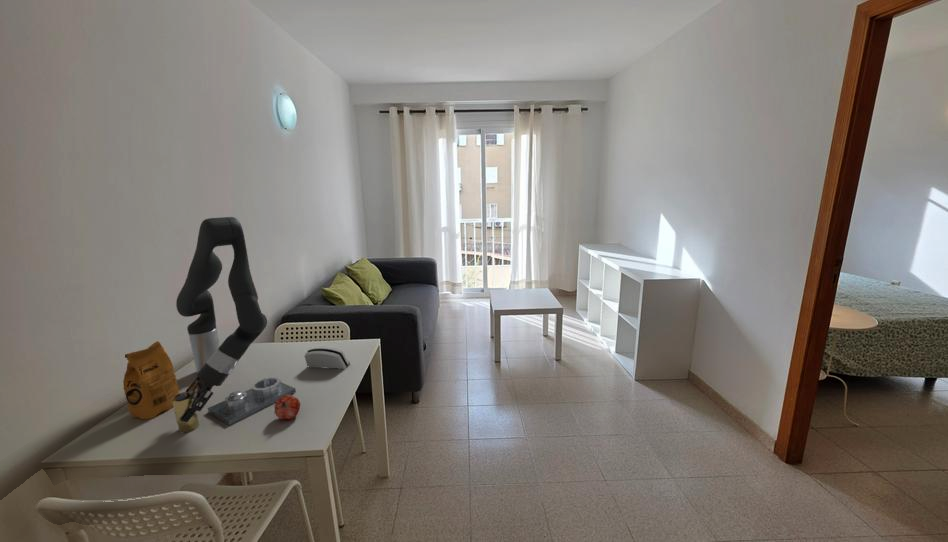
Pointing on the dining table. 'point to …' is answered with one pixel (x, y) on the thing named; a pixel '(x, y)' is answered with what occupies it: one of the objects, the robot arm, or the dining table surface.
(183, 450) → the dining table surface
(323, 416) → the dining table surface
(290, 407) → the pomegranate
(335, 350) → the grey rounded block
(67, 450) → the dining table surface
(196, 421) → the gold and black cylinder
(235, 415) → the fitting plate
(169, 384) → the coffee package
